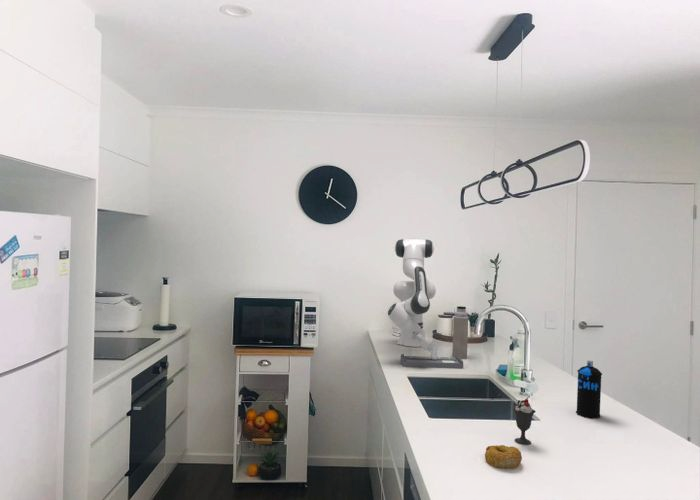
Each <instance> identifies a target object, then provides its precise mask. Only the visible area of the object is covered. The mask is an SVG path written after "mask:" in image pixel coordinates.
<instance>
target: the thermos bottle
mask: <svg viewBox="0 0 700 500" xmlns="http://www.w3.org/2000/svg"><path fill="white" fill-rule="evenodd" d="M466 309H467V307H466V306H461V305H460V306H458V305H457V306H456V311H455V312H454V316H453V327H452V355H451V357H455V356H458V357H459V358H460V359H461V360H466V359H467V358H468V342H469V341H468V338H469V316H468V313H467V311H466Z"/></svg>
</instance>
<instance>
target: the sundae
mask: <svg viewBox="0 0 700 500" xmlns="http://www.w3.org/2000/svg"><path fill="white" fill-rule="evenodd" d="M530 397H531V396H530V395H528V396H527V397H526V399H523V400H520V399H518V400H517V402H516V403H517V404H516V406H513V407H512V411H514V413H515V415H514V416H515V421H516V423H515V424H516V426H517V428H518V429H519V430H520V432H521V433H520V434H521V435H520V437H516V438H514V441H515V443H517V444H519V445H523V446H530V445H531V444H532V440H530V439H528V438H526V431H528V430H529V429H530V428H531V427H532V426H531V425H532V422H533V421H532V420H533V416H534V414H536V410H535V409H533V408H532V406H531V404H530V403H529V402H530V401H529V398H530Z"/></svg>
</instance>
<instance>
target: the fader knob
mask: <svg viewBox="0 0 700 500" xmlns="http://www.w3.org/2000/svg"><path fill="white" fill-rule="evenodd" d="M431 349H432V351H430V353H431V355H430V357H431V358H432V360H437V357H438V341H437V340H435V339H434V340H431Z"/></svg>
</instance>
